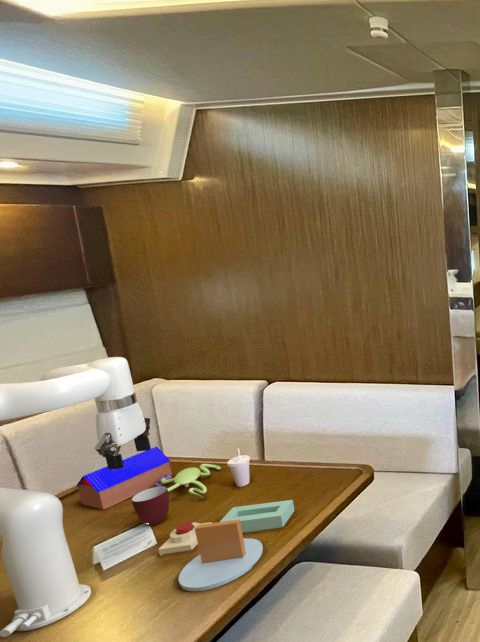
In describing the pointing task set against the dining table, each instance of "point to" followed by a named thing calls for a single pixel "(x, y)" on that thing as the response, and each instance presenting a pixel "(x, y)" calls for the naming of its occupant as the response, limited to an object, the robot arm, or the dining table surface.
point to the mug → (152, 505)
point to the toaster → (261, 515)
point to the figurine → (188, 479)
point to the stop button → (184, 528)
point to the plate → (219, 569)
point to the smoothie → (240, 469)
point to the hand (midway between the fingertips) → (130, 459)
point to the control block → (180, 541)
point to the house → (123, 479)
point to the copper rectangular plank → (220, 541)
